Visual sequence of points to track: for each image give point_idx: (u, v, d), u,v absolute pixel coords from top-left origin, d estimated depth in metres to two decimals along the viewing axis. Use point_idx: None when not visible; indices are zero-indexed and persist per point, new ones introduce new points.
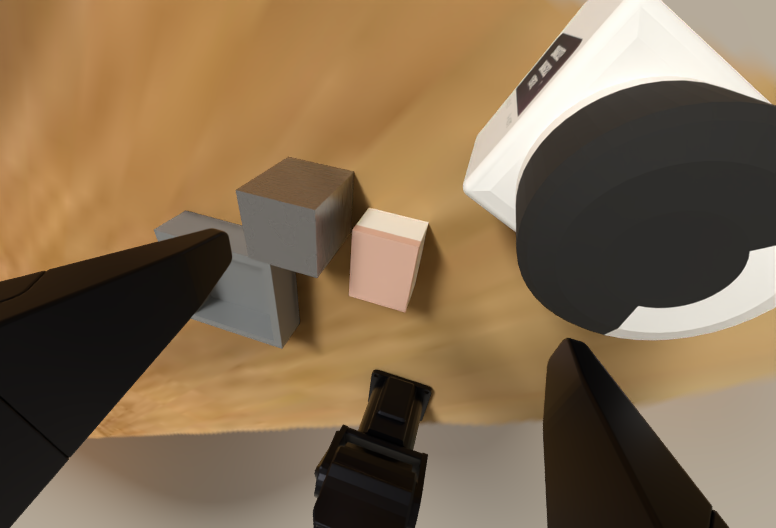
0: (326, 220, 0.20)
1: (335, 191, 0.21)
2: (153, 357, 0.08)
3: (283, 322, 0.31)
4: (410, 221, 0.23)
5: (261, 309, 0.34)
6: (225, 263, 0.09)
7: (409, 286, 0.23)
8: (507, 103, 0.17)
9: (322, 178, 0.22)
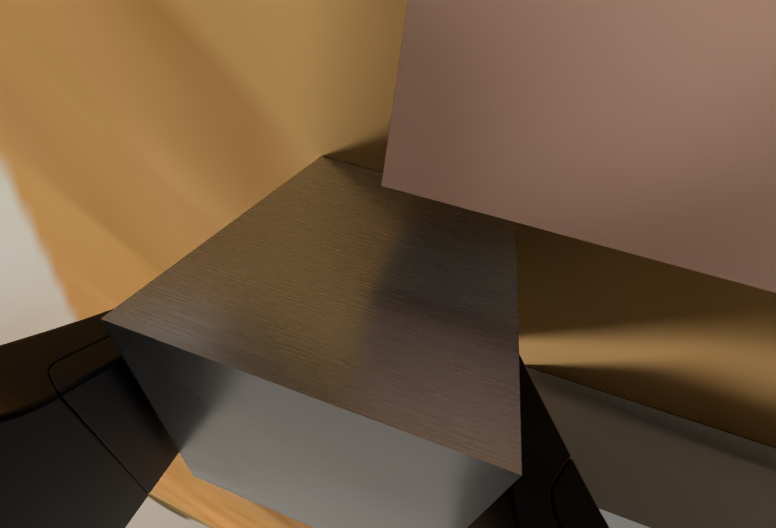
0: (277, 282, 0.05)
1: (250, 214, 0.06)
2: None
3: None
4: None
5: None
6: None
7: None
8: None
9: None
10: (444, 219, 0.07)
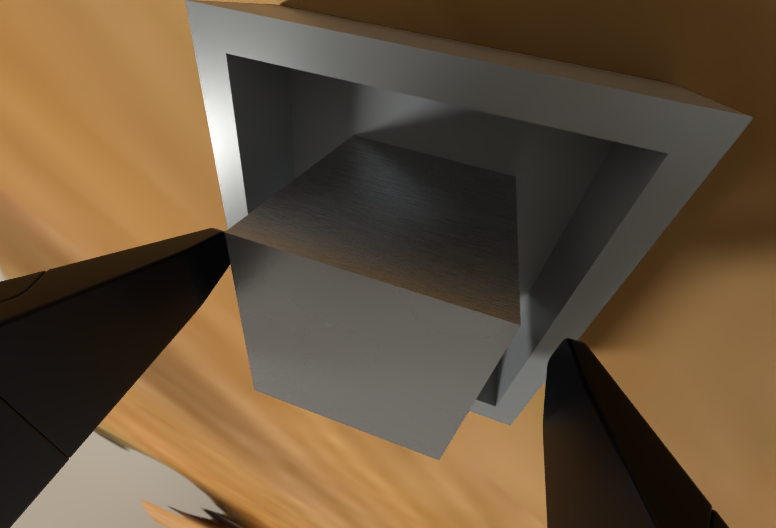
0: (338, 217, 0.07)
1: (308, 174, 0.08)
2: (153, 357, 0.08)
3: (559, 72, 0.06)
4: None
5: (551, 219, 0.10)
6: (225, 263, 0.09)
7: None
8: None
9: None
10: (458, 182, 0.09)
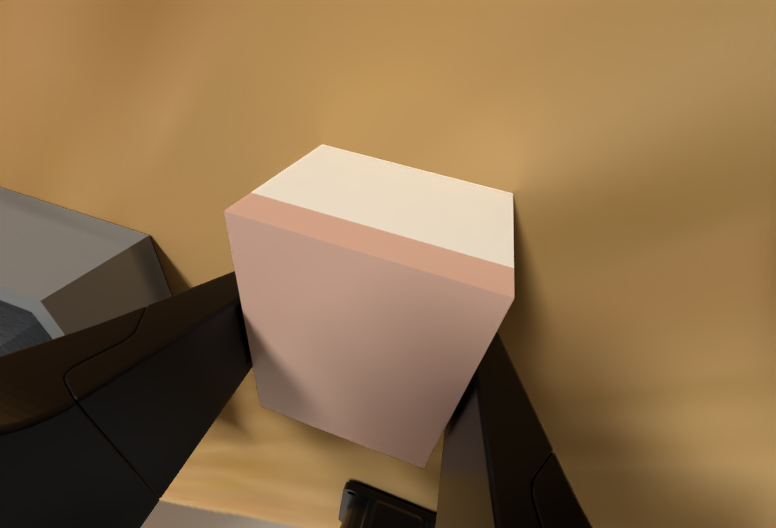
0: None
1: (0, 350, 0.11)
2: (235, 388, 0.08)
3: None
4: (454, 191, 0.07)
5: None
6: None
7: (446, 417, 0.07)
8: None
9: (2, 312, 0.12)
10: None
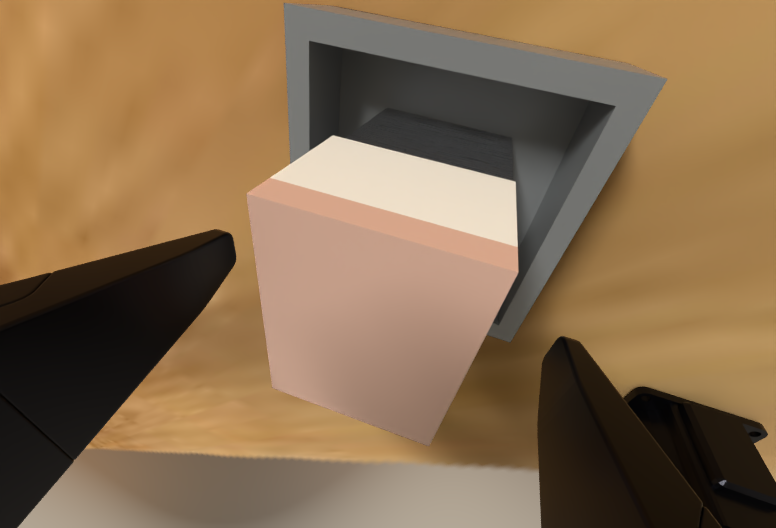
0: None
1: (510, 171, 0.10)
2: (157, 359, 0.08)
3: None
4: (459, 179, 0.07)
5: None
6: (229, 264, 0.09)
7: (452, 392, 0.07)
8: None
9: (471, 146, 0.11)
10: None
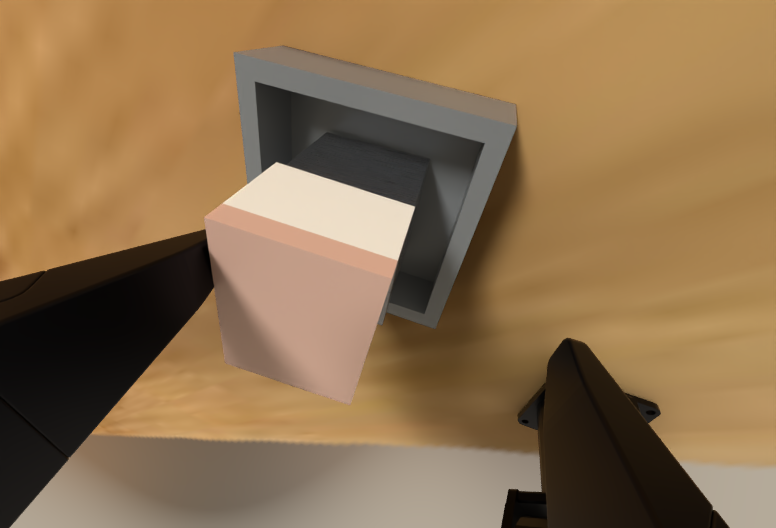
0: (405, 238, 0.13)
1: (419, 191, 0.13)
2: (153, 357, 0.08)
3: None
4: (371, 204, 0.10)
5: None
6: None
7: (361, 362, 0.10)
8: None
9: (391, 169, 0.14)
10: (408, 237, 0.16)
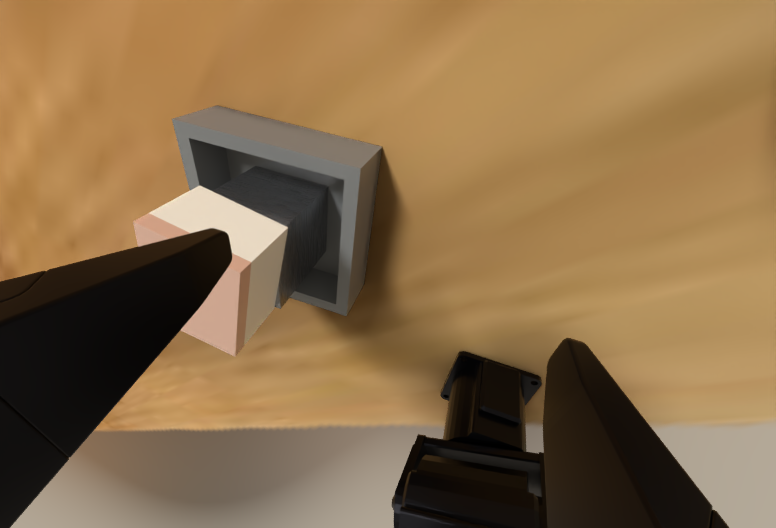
0: (291, 245, 0.18)
1: (303, 211, 0.18)
2: (153, 357, 0.08)
3: (353, 276, 0.21)
4: (255, 223, 0.15)
5: None
6: (225, 263, 0.09)
7: (235, 325, 0.15)
8: None
9: (290, 195, 0.19)
10: (317, 245, 0.21)
